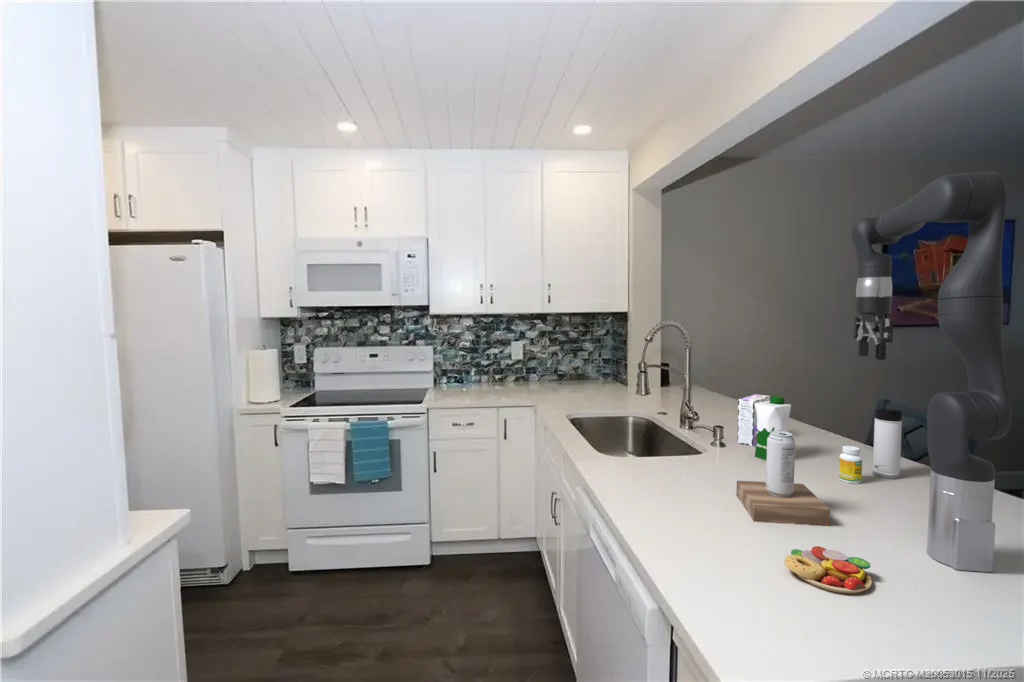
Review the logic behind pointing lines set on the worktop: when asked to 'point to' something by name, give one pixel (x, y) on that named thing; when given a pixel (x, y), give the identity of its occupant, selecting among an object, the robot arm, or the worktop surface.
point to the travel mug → (887, 443)
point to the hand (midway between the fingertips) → (871, 357)
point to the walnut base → (782, 505)
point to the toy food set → (830, 570)
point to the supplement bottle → (850, 465)
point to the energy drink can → (780, 463)
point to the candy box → (748, 418)
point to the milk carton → (770, 421)
